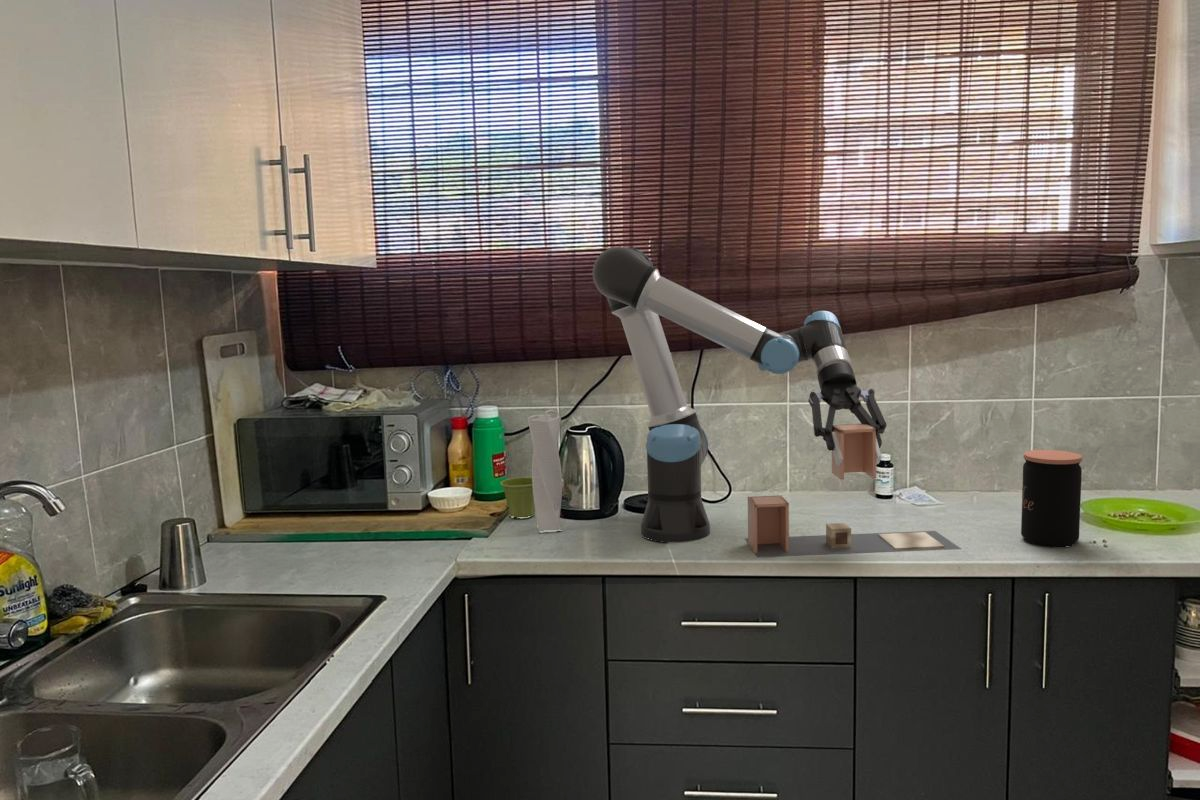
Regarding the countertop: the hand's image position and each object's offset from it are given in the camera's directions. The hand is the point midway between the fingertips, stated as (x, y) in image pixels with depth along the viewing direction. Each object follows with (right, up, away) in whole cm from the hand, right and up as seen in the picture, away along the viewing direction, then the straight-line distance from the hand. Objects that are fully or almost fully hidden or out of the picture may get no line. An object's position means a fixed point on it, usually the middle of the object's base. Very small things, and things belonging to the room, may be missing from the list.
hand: (859, 461), depth 176 cm
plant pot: (-70, -16, +38) cm, 82 cm away
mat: (0, -18, +7) cm, 19 cm away
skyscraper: (-63, -18, +25) cm, 70 cm away
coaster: (+12, -17, +6) cm, 22 cm away
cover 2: (0, -3, +4) cm, 5 cm away
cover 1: (-17, -18, +6) cm, 25 cm away
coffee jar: (+41, -17, +5) cm, 44 cm away
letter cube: (-3, -18, +6) cm, 19 cm away
